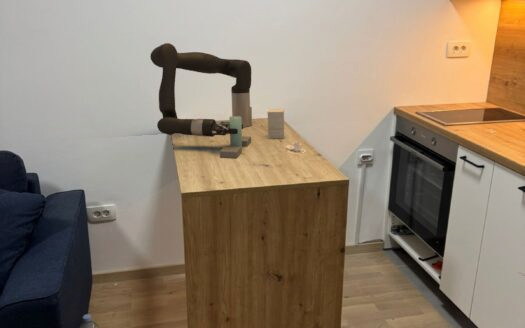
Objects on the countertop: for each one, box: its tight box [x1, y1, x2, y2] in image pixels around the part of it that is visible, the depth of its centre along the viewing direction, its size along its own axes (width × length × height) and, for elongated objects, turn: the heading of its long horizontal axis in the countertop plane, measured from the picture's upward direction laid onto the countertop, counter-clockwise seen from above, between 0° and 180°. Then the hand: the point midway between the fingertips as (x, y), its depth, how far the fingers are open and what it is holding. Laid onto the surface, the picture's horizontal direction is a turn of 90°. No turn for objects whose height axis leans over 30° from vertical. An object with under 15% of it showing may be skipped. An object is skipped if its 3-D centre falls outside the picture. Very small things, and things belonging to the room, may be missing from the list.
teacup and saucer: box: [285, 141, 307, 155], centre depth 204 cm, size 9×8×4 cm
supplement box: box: [267, 108, 285, 139], centre depth 226 cm, size 7×7×13 cm
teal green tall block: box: [229, 115, 243, 148], centre depth 206 cm, size 5×5×14 cm
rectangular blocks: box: [219, 135, 252, 159], centre depth 207 cm, size 25×7×2 cm, turn 168°
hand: (240, 129), depth 205 cm, fingers open, 8 cm apart
